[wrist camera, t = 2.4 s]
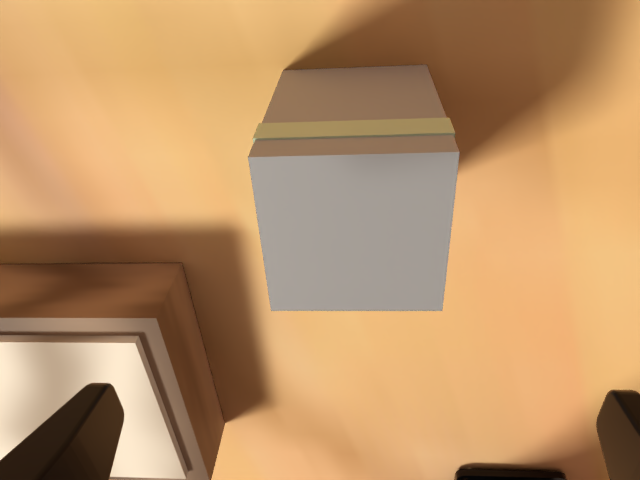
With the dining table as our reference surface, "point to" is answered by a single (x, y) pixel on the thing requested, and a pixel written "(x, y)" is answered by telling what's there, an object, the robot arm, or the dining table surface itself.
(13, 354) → the stand
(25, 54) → the dining table surface
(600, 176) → the dining table surface
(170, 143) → the dining table surface
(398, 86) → the grey striped cube
